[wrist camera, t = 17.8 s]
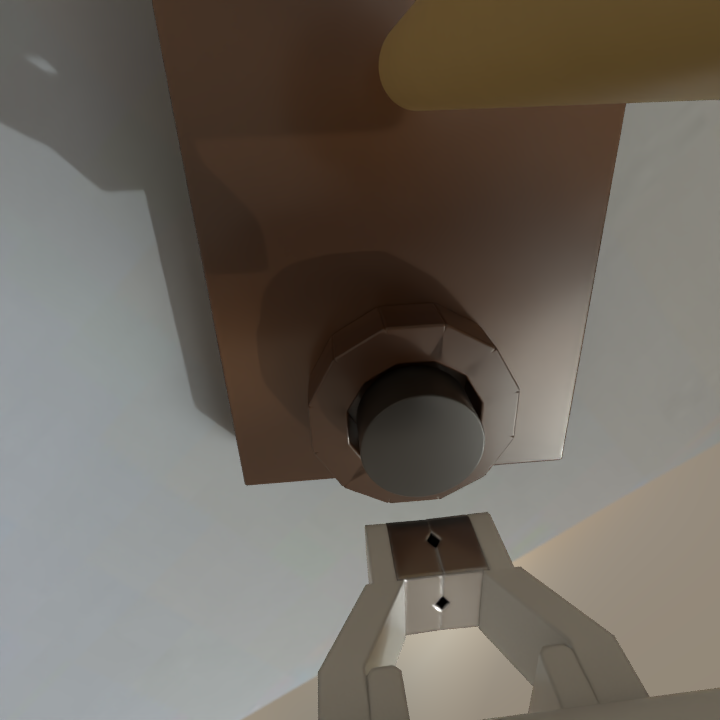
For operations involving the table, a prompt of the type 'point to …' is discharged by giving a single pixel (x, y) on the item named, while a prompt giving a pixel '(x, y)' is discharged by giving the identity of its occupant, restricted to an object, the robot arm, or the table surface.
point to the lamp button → (418, 432)
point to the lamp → (551, 53)
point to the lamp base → (377, 234)
